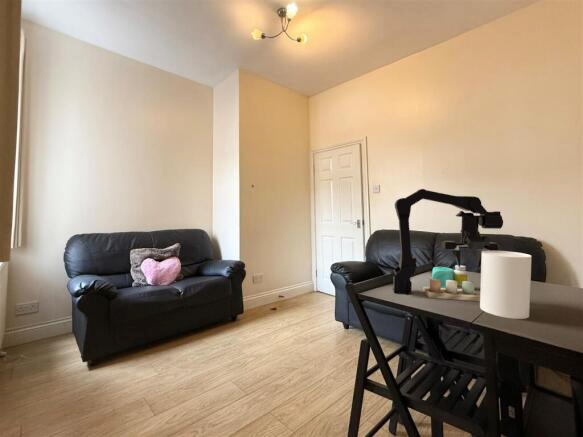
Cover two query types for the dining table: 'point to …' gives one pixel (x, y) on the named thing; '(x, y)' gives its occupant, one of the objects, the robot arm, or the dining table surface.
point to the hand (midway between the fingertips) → (468, 267)
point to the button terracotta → (435, 285)
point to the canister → (505, 284)
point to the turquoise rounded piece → (442, 275)
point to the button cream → (451, 286)
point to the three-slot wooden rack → (451, 294)
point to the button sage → (468, 287)
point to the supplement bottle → (459, 275)
